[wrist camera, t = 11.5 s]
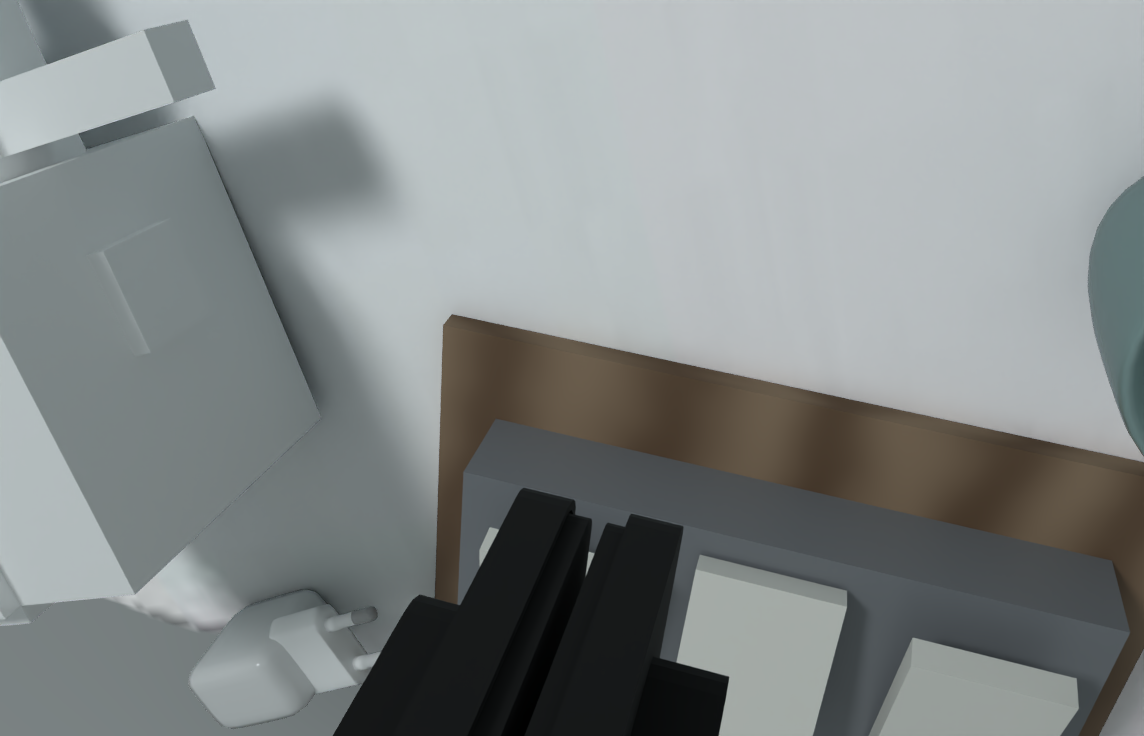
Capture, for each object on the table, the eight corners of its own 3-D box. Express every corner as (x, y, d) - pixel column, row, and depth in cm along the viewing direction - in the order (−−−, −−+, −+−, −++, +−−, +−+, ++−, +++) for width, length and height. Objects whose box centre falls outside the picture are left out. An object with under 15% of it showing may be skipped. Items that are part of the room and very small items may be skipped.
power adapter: (391, 548, 52) (338, 631, 48) (441, 621, 54) (395, 708, 49) (231, 596, 57) (169, 675, 52) (282, 662, 59) (225, 745, 54)
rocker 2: (1076, 678, 37) (1078, 708, 36) (1005, 785, 43) (1005, 814, 42) (912, 637, 38) (911, 665, 37) (863, 748, 44) (861, 774, 43)
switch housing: (1111, 560, 41) (1133, 646, 37) (1030, 734, 46) (1042, 825, 42) (496, 418, 46) (457, 481, 42) (484, 591, 51) (449, 662, 47)
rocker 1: (847, 590, 40) (847, 606, 39) (801, 763, 43) (800, 782, 41) (699, 554, 41) (695, 569, 40) (664, 725, 44) (659, 743, 42)
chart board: (1216, 477, 39) (1225, 498, 38) (1043, 818, 50) (1046, 842, 49) (451, 314, 45) (440, 328, 44) (440, 652, 55) (430, 671, 54)
